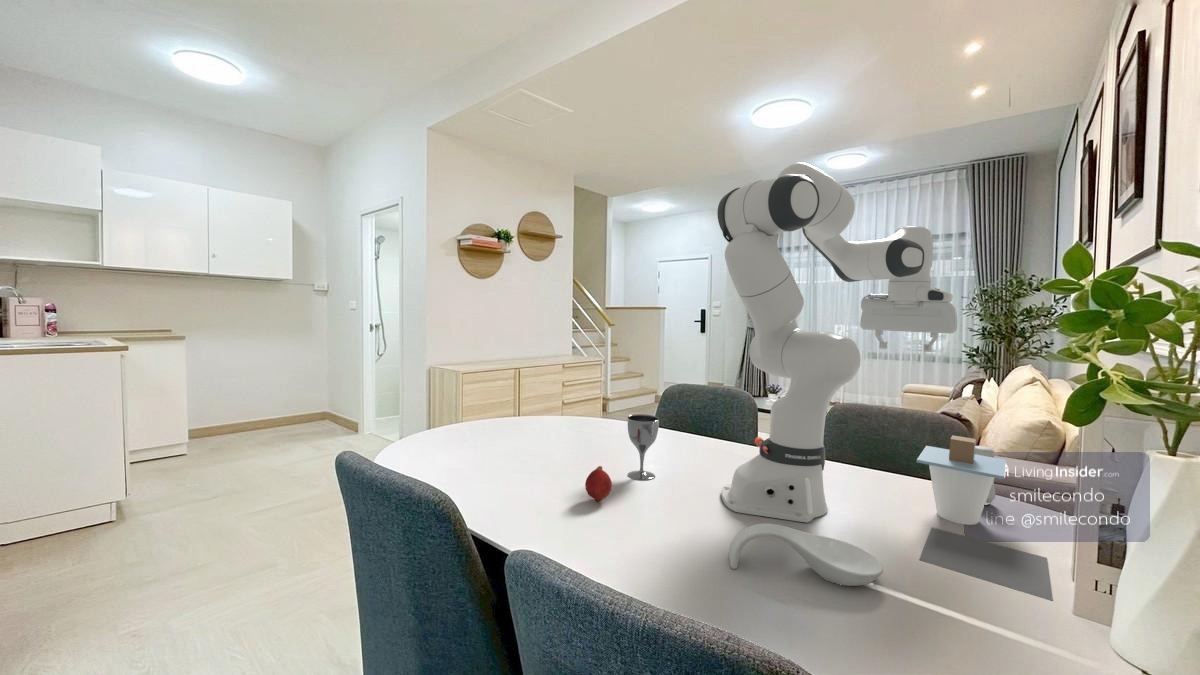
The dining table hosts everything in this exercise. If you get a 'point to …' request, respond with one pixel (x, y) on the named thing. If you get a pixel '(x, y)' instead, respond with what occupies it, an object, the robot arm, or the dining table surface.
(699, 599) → the dining table surface
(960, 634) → the dining table surface
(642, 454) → the wine glass
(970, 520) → the cup
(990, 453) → the salt shaker
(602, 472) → the onion
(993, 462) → the cover sheet
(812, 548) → the spoon rest
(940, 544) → the sheet mat
